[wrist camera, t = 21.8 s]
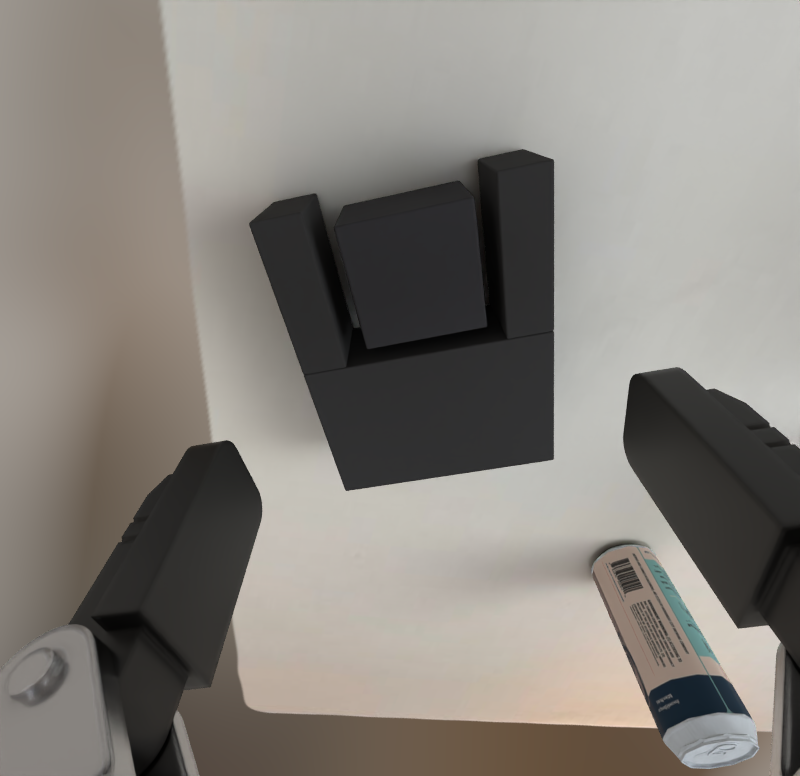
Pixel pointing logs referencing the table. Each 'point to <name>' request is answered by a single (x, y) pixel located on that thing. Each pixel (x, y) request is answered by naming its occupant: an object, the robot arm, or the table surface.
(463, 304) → the black block
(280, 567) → the table surface
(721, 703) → the beer can
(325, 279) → the black flat forked piece
